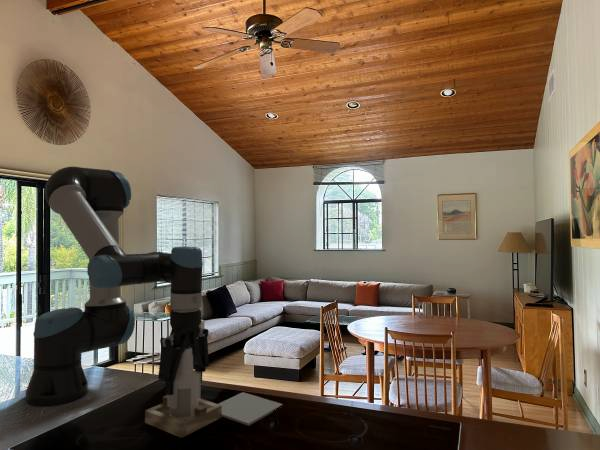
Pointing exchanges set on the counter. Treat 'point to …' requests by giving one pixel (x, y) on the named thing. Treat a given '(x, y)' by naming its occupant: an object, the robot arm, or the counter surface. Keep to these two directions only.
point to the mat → (247, 408)
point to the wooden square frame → (202, 417)
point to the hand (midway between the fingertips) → (184, 401)
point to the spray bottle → (186, 387)
